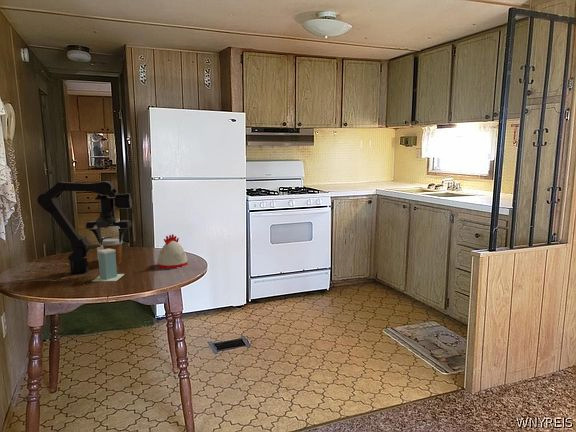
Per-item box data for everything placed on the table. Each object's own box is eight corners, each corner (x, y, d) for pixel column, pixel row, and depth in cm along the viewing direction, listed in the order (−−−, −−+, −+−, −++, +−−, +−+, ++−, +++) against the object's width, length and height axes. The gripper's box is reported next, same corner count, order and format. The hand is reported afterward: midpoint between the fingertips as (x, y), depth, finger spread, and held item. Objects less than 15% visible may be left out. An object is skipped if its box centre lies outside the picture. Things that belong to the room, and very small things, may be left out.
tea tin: (99, 277, 182) (97, 250, 180) (110, 275, 186) (108, 248, 185) (106, 279, 179) (104, 252, 177) (117, 276, 183) (115, 249, 182)
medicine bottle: (119, 259, 214) (117, 236, 212) (106, 263, 208) (104, 239, 207) (110, 258, 218) (108, 235, 216) (97, 261, 212) (95, 237, 210)
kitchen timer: (152, 266, 202) (150, 235, 200) (175, 260, 213) (173, 230, 211) (170, 270, 194) (168, 238, 192) (193, 264, 205) (192, 233, 202)
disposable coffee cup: (123, 265, 204) (121, 240, 202) (102, 266, 201) (100, 242, 200) (125, 260, 213) (123, 237, 211) (104, 261, 210) (102, 238, 209)
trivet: (92, 281, 178) (92, 281, 178) (101, 274, 188) (101, 274, 188) (116, 281, 178) (116, 280, 178) (124, 274, 188) (124, 273, 188)
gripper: (78, 211, 182) (81, 247, 184) (122, 211, 183) (124, 246, 185) (89, 208, 193) (92, 241, 195) (130, 207, 194) (133, 241, 196)
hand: (110, 242), depth 193 cm, fingers open, 9 cm apart
